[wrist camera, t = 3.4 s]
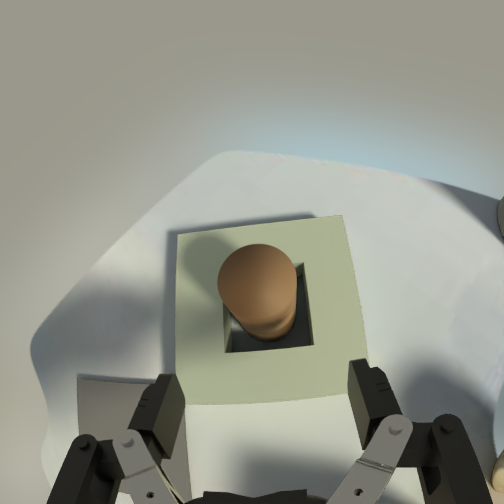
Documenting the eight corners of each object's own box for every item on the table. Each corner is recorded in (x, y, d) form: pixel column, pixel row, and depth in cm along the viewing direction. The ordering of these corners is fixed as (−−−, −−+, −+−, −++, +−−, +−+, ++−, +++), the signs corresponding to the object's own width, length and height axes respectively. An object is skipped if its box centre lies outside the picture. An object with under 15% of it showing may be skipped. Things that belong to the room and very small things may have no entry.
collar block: (337, 232, 27) (342, 215, 25) (362, 388, 21) (371, 388, 19) (188, 249, 28) (177, 234, 26) (189, 402, 22) (176, 404, 20)
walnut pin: (292, 288, 26) (291, 239, 18) (297, 339, 24) (301, 314, 16) (240, 293, 26) (216, 248, 18) (244, 344, 24) (218, 321, 16)
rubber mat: (183, 385, 23) (180, 385, 23) (192, 501, 18) (190, 504, 18) (81, 378, 24) (77, 378, 24) (88, 481, 19) (84, 482, 19)
